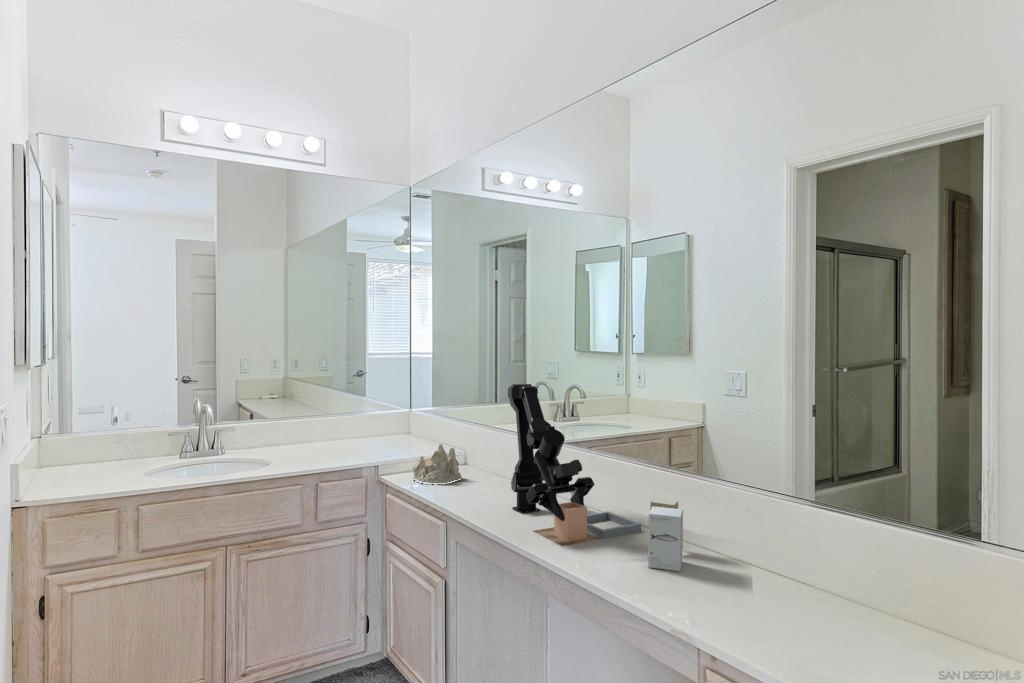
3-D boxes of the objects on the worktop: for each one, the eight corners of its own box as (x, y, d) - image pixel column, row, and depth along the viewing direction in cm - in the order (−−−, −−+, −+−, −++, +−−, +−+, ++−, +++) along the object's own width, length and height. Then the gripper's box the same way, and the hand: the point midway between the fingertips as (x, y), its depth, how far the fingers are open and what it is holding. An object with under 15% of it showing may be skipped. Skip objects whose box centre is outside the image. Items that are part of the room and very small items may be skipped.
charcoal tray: (570, 529, 170) (570, 517, 170) (608, 522, 176) (608, 511, 176) (602, 544, 158) (602, 531, 158) (641, 536, 164) (641, 523, 164)
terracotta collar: (551, 533, 161) (551, 503, 161) (570, 530, 164) (570, 500, 164) (567, 541, 155) (567, 510, 155) (586, 538, 158) (587, 506, 158)
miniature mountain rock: (468, 479, 232) (465, 439, 232) (434, 488, 220) (431, 446, 220) (441, 476, 242) (438, 438, 242) (407, 484, 230) (405, 444, 230)
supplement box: (647, 568, 141) (647, 513, 141) (651, 557, 148) (651, 505, 148) (680, 572, 138) (680, 516, 138) (683, 561, 145) (683, 508, 145)
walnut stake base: (532, 536, 164) (532, 508, 164) (569, 529, 170) (569, 502, 170) (562, 552, 151) (562, 521, 152) (601, 544, 157) (601, 515, 157)
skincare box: (648, 550, 153) (648, 501, 153) (653, 545, 157) (653, 497, 157) (674, 554, 150) (674, 504, 150) (678, 549, 154) (678, 500, 154)
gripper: (532, 453, 158) (556, 506, 148) (590, 447, 167) (616, 496, 157) (516, 477, 164) (538, 530, 155) (573, 470, 174) (597, 519, 164)
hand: (573, 518), depth 158 cm, fingers closed on terracotta collar, 6 cm apart
